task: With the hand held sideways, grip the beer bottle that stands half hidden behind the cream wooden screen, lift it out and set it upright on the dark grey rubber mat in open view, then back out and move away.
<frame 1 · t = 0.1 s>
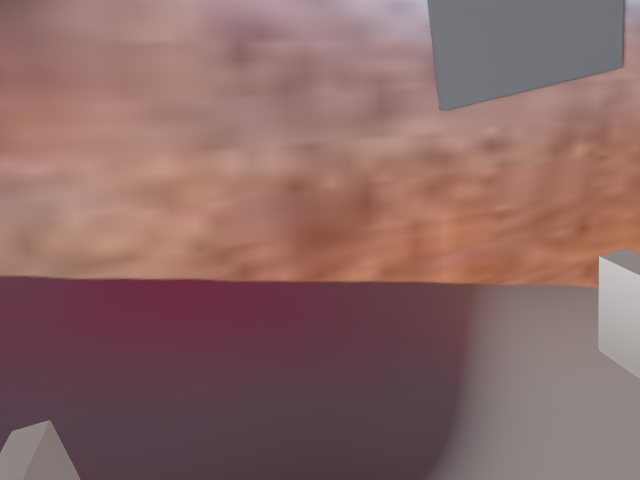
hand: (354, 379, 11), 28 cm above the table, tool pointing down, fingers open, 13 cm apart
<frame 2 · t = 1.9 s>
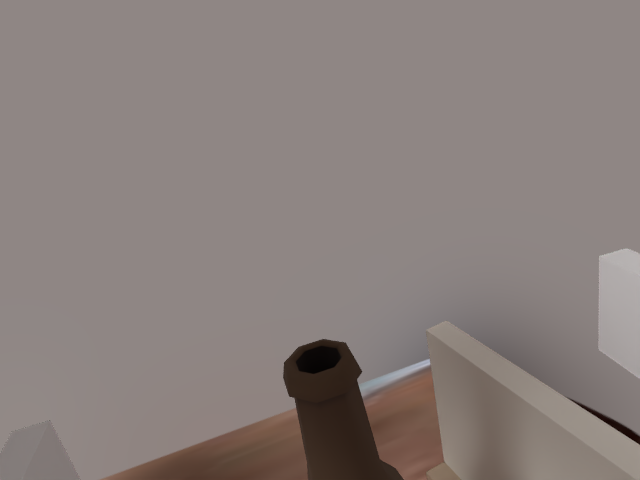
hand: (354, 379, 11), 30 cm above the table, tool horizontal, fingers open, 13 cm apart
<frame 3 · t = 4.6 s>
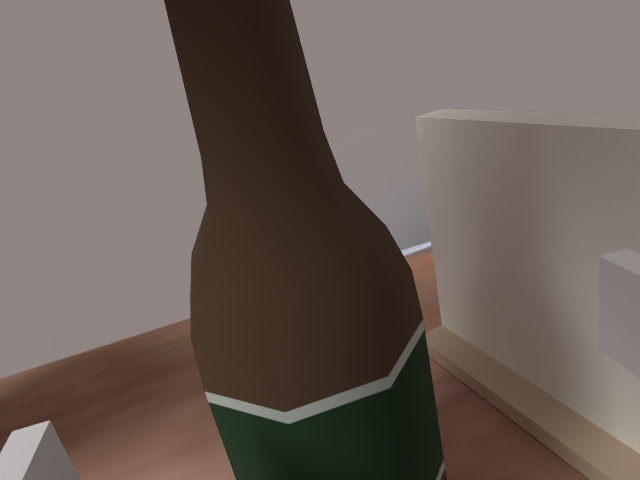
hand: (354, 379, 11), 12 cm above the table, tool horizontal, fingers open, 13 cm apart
screen: (583, 414, 25), on the table
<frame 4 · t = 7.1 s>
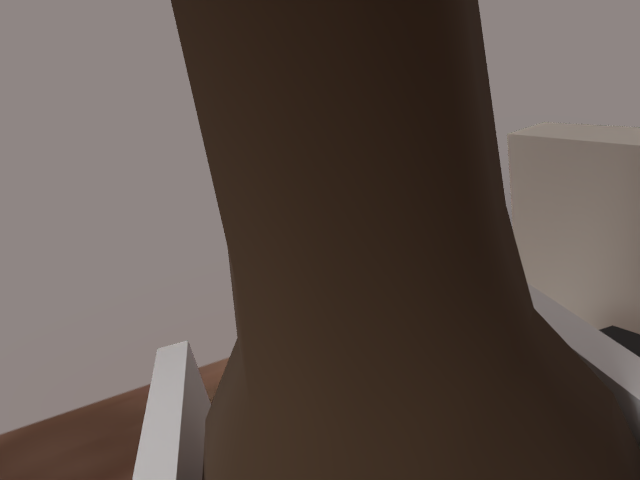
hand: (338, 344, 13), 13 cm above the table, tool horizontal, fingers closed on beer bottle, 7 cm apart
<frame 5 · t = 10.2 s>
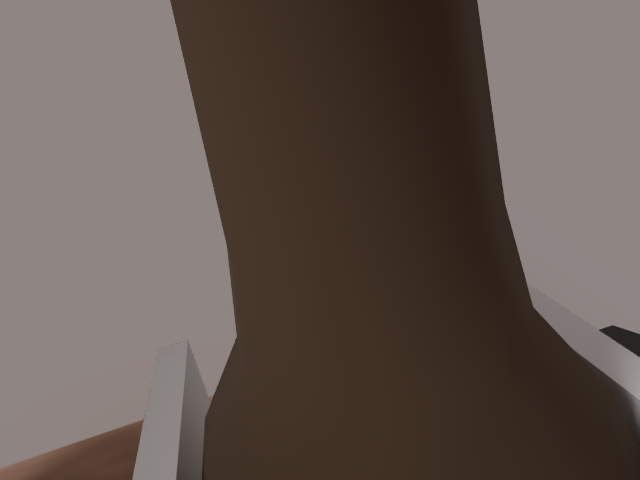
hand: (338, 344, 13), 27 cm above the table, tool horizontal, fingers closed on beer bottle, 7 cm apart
when the fingers open (15 cm above the table, at t = 13.3 s): beer bottle drops 1 cm, resting on mat.
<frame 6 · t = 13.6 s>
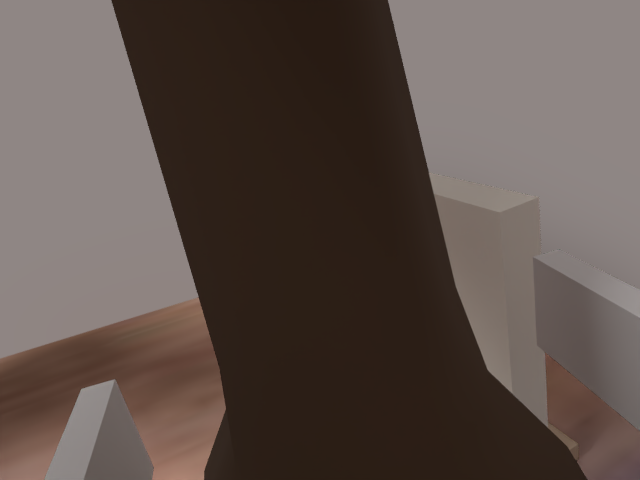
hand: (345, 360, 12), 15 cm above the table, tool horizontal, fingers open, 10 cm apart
screen: (418, 382, 33), on the table
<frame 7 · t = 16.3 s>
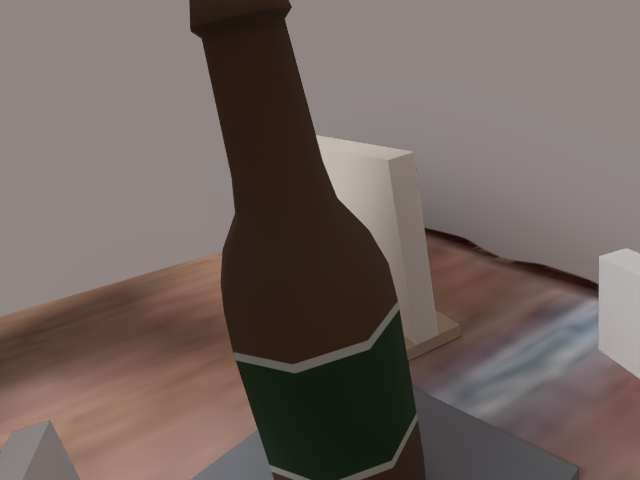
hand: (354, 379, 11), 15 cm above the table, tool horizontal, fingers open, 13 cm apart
screen: (364, 301, 45), on the table
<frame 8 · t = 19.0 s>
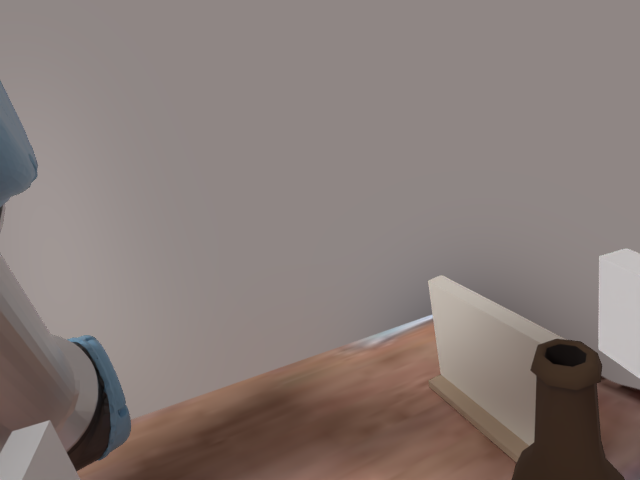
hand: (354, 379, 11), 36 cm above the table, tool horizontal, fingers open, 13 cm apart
screen: (502, 421, 56), on the table
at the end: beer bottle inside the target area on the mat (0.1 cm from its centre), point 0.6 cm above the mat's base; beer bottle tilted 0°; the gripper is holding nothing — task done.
